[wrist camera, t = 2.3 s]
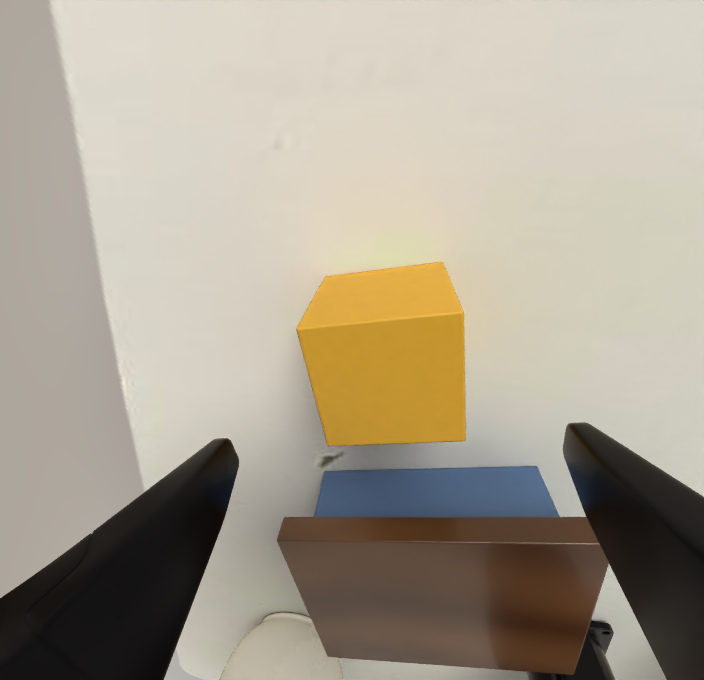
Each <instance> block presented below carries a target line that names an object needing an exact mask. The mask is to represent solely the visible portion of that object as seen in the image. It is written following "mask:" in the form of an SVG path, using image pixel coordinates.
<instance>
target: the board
mask: <svg viewBox="0 0 704 680" xmlns="http://www.w3.org/2000/svg"><path fill="white" fill-rule="evenodd" d="M277 542H278V544H279V546H280V549H281V551H282V553H283V556H284V558H285V560H286V562H287V565H288V567H289V569H290V572H291V574H292V576H293V578H294V581H295V583H296V585H297V588H298V590H299V592H300V594H301V597H302V599H303V601H304V604H305V606H306V608H307V610H308V613H309V615H310V617H311V620H312V622H313V624H314V626H315V629H316V631H317V633H318V636H319V638H320V640H321V643H322V645H323V647H324V649H325V652H326V654H327V656H328V657H336V658H350V659H364V660H377V661H391V662H405V663H419V664H432V665H446V666H460V667H473V668H487V669H501V670H514V671H528V672H542V673H555V674H569V675H573V674H574V672H575V669H576V666H577V663H578V659H579V656H580V653H581V650H582V647H583V644H584V640H585V637H586V634H587V631H588V628H589V625H590V621H591V618H592V615H593V612H594V609H595V606H596V602H597V599H598V596H599V593H600V590H601V587H602V583H603V580H604V577H605V574H606V571H607V567H608V564H609V562H608V560H607V558H606V556H605V554H604V552H603V550H602V548H601V546H600V544H599V542H598V540H597V538H596V536H595V534H594V532H593V530H592V528H591V526H590V523H589V521H588V519H587V517H284V519H283V522H282V525H281V529H280V532H279V535H278V538H277Z"/></svg>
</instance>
